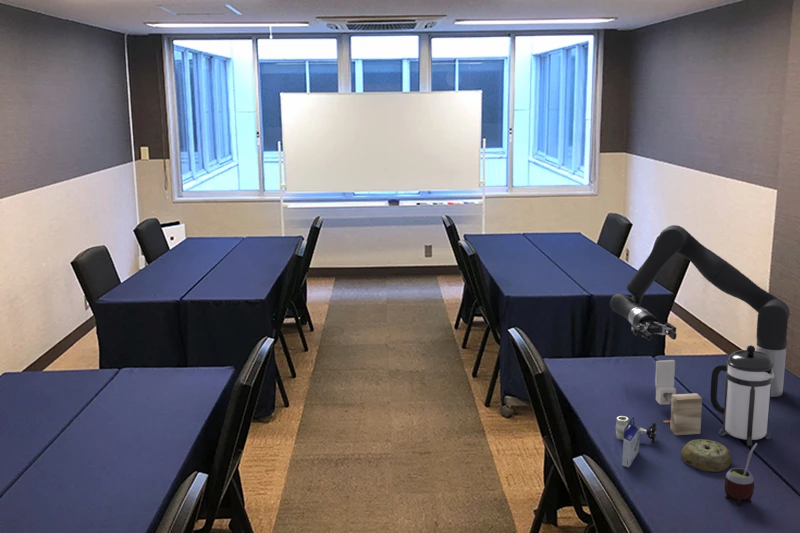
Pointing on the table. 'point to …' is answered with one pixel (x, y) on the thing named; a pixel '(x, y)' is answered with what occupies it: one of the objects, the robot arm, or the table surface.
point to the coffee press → (745, 394)
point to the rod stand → (684, 413)
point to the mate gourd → (740, 483)
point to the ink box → (630, 443)
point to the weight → (706, 455)
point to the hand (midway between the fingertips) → (662, 337)
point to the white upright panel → (664, 380)
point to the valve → (622, 423)
